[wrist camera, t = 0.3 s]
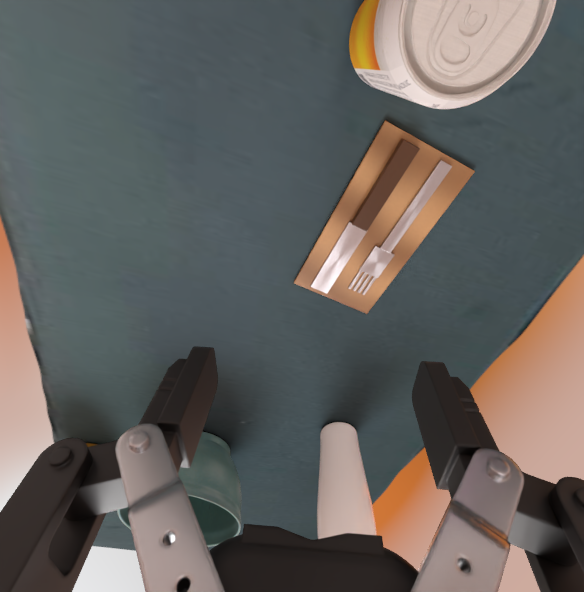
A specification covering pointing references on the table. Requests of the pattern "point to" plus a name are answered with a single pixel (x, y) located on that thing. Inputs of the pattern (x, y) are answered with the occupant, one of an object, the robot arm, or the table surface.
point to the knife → (365, 215)
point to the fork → (398, 230)
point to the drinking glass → (342, 485)
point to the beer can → (445, 46)
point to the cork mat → (383, 216)
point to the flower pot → (211, 490)
